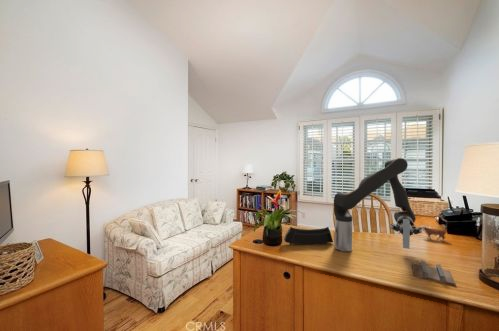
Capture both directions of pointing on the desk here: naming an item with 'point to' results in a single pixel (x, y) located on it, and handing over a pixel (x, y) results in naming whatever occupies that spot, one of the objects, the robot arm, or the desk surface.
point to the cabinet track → (433, 273)
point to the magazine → (308, 236)
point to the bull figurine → (434, 232)
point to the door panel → (406, 233)
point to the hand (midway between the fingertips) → (406, 232)
